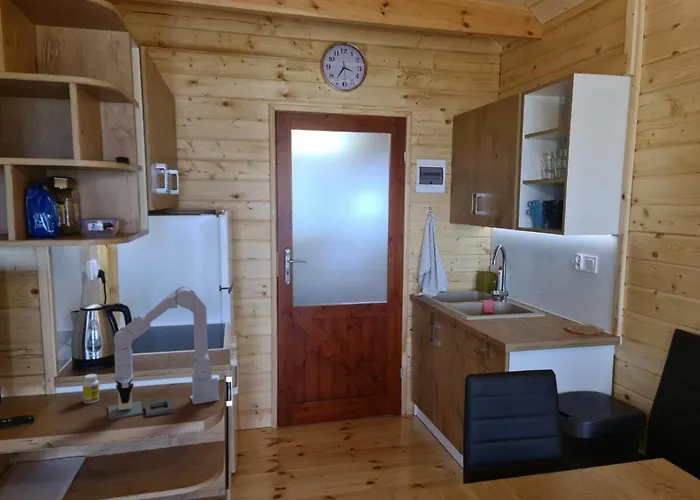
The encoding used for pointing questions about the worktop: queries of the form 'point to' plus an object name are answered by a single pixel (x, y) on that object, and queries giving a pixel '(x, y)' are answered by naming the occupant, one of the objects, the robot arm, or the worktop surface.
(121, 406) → the square peg block
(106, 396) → the worktop surface
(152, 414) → the square socket
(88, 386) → the supplement bottle
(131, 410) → the rubber mat
